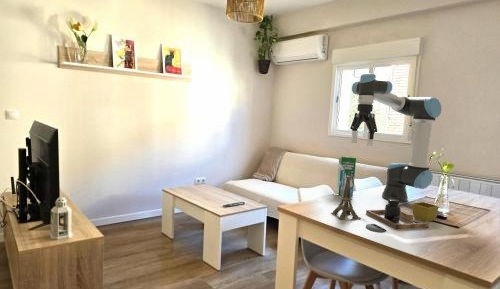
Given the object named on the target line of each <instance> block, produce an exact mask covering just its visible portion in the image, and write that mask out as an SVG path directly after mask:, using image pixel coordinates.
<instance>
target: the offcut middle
mask: <svg viewBox="0 0 500 289" xmlns="http://www.w3.org/2000/svg"><path fill="white" fill-rule="evenodd" d="M413 220H414V219H406V218H405V217H403V216H401V215H400V218H399V221H402V222H404V221H405V222H404V223H406V222H407V223H406V224H413V223H414V222H413ZM412 222H413V223H412Z"/></svg>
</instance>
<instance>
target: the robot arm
mask: <svg viewBox="0 0 500 289" xmlns="http://www.w3.org/2000/svg"><path fill="white" fill-rule="evenodd" d="M392 91H393V83H392V82H391V81H390V80H387V79H378V78H377V75H376V74H375V73H362V74H361V75H360V78H359V81H354V82H353V84H352V85H351V92H352V93H353V94H354V95H356V96H358V100H357V103H358V104H357V108H356V109H357V111H358V112H355V113H354V117H353V120H352V122H351V125H350V127H349V128H350V129H349V130H351V131H352V133H351V136H352V137H351V143H352V144H357V143H358V133H359V131H358V130H359V128H360V126H361V124H362V123H365V125H366V127H367V130H368V133H367V139H366V140H367V141H366V146H367V147H368V146H369V147H373V142H374V136H375V133H377V132H378V127H377V121H376V117H375V116H376V114H375V113H373V108H374V106H373V104H374V101H376V102H378V103H380V104H383V105H385V106H388V107H390V108H391V109H392V111H395V112H397V113H400V114H402V115H404V116H408V117H413V119H412V120H413V121H414V123H415V124H414V133H413V138H412V139H413V140H412V147H411V148H412V149H411V157H410V161H409V163H405V162H404V163H403V162H399V163H398V162H397V163H396V162H393V163H389V164H388V165H387V169H386V170H387V171H386V182H385V187H384V189H383V191H382V194H381V197H382V198H383V199H385V200H388V199H397V200H399V203H400V202H402V203H404V202H408V200H409V197H408V192H407V187H412V188H415V189H419V190H424V189H427V188H428V187H429V186H430V185H431V184H432V181H433V173H432V171H431V170H430V166H429V165H428V157H429V156H428V154H429V147H430V142H431V141H430V139H431V135H432V134H431V132H432V125H433V123H434V122H435V121H436V118H438V117H440V115H441V114H442V104H441V102H440V100H439V99H438V98H437V97H434V96H425V97H424V96H419V97H416V96H415V97H413V96H411V97H410V96H409V97H406V96H403V95H396V94H394V93H392Z"/></svg>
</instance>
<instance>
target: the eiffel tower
mask: <svg viewBox="0 0 500 289" xmlns="http://www.w3.org/2000/svg"><path fill="white" fill-rule="evenodd" d="M346 179H347V180H346V185H345V189H344V194H343V195H341V197H340V198H341V201H340V203H339V204H338V206H337V207H336V208H335V209H334V210H333V211H332V212H331V213H330V214H331V215H332V216H338V215H339V212H340V211H342V212H340V213H341V214H340V215H339V217H338V218H337V219H339V220H340V221H347V219H346V215H349V216H350V215H351V218H352V219H353V220H354V221H356V220H357V221H358V220H361V219H360V218H359V217H358V215H357V213H356V212H355V210H354V206H353V205H352V200H353V199H352V197H351V196H350V179H351V177H350V176H349V173H348V176H346Z"/></svg>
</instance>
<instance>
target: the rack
mask: <svg viewBox="0 0 500 289" xmlns="http://www.w3.org/2000/svg"><path fill="white" fill-rule="evenodd" d="M365 213H366V216H369V217H371V218H372V219H374V220H377V221H378V222H381V223H383V224H385V225H387V226H389V227H391V228H392V229H394V230H396V231H397V230H412V229H413V230H414V229H428V228H429V227H430V223H429V222H420V221H417V220H414V219H413V223H393V222H391V221H389V220H387V219H385V218H384V217H383V216H381V215H384V214H385V209H366V211H365Z"/></svg>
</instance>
